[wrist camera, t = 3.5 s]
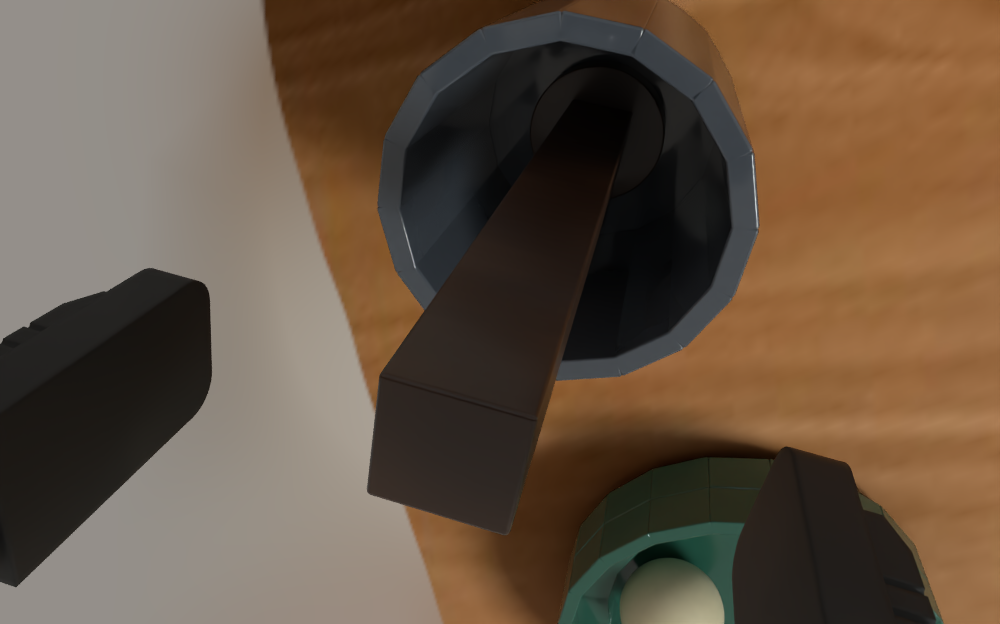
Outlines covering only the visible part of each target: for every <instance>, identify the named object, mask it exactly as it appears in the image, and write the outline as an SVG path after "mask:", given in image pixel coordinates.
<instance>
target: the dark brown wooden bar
mask: <svg viewBox="0 0 1000 624" xmlns="http://www.w3.org/2000/svg"><path fill="white" fill-rule="evenodd" d="M665 126H666V125H665V114H664V108H663V105H662V102H661V100H660V98H659V96H658V94H657V92H656V90H655V89H654V87H653V86H652V84H651V83H650V82H649V81H648V80H647V79H646V78H645V77H644V76H643V75H641V74H640V73H639V72H637V71H636V70H634V69H633V68H631V67H629V66H626V65H624V64H621V63H618V62H613V61H607V60H597V61H589V62H585V63H581V64H579V65H576V66H574V67H572V68H570V69H568V70H566V71H565V72H563V73H562V74H561V75H560V76H558V77H557V78H556V79H555V80H554V81H553V82H552V83H551V84H550V86H549V87H548V88H547V89H546V90H545V91H544V93H543V94H542V95H541V97H540V99H539V100H538V102H537V104H536V106H535V109H534V111H533V115H532V119H531V125H530V142H531V148H532V151H533V155H534V156H533V157H532V159H531V160H530V161H529V163H528V164H527V166H526V167H525V169H524V170H523V171H522V173H521V174H520V176H519V177H518V179H517V180H516V181H515V183H514V184H513V186H512V187H511V189H510V190H509V191H508V193H507V194H506V196H505V197H504V198H503V200H502V201H501V203H500V204H499V206H498V207H497V208H496V210H495V211H494V213H493V214H492V216H491V217H490V218H489V220H488V221H487V223H486V224H485V226H484V227H483V228H482V230H481V231H480V233H479V234H478V236H477V237H476V238H475V240H474V241H473V243H472V244H471V245H470V247H469V248H468V250H467V251H466V253H465V254H464V255H463V257H462V258H461V260H460V261H459V263H458V264H457V265H456V267H455V268H454V270H453V271H452V273H451V274H450V275H449V277H448V278H447V280H446V281H445V283H444V284H443V285H442V287H441V288H440V290H439V291H438V293H437V294H436V295H435V297H434V298H433V300H432V301H431V302H430V304H429V305H428V307H427V308H426V310H425V311H424V312H423V314H422V315H421V317H420V318H419V320H418V321H417V322H416V324H415V325H414V327H413V328H412V330H411V331H410V332H409V334H408V335H407V337H406V338H405V340H404V341H403V342H402V344H401V345H400V347H399V348H398V349H397V351H396V352H395V354H394V355H393V357H392V358H391V359H390V361H389V362H388V364H387V365H386V367H385V368H384V369H383V371H382V372H381V374H380V376H379V385H378V394H377V403H376V413H375V422H374V431H373V440H372V449H371V458H370V467H369V477H368V485H367V492H368V493H369V494H370V495H373V496H377V497H380V498H383V499H386V500H390V501H393V502H397V503H400V504H403V505H406V506H409V507H413V508H416V509H419V510H423V511H426V512H429V513H432V514H436V515H439V516H442V517H446V518H449V519H452V520H455V521H459V522H462V523H465V524H469V525H472V526H475V527H478V528H482V529H485V530H488V531H492V532H495V533H498V534H502V535H508V534H509V532H510V531H511V528H512V524H513V521H514V518H515V514H516V511H517V508H518V504H519V501H520V498H521V494H522V491H523V488H524V484H525V481H526V478H527V474H528V471H529V468H530V464H531V461H532V458H533V454H534V451H535V448H536V444H537V441H538V438H539V434H540V431H541V427H542V424H543V421H544V417H545V414H546V411H547V407H548V404H549V401H550V397H551V394H552V391H553V387H554V384H555V381H556V377H557V374H558V371H559V367H560V364H561V361H562V357H563V354H564V351H565V347H566V344H567V341H568V337H569V334H570V331H571V327H572V324H573V320H574V317H575V314H576V310H577V307H578V304H579V300H580V297H581V294H582V290H583V287H584V284H585V280H586V277H587V274H588V270H589V267H590V264H591V260H592V257H593V254H594V250H595V247H596V244H597V240H598V237H599V234H600V230H601V227H602V223H603V220H604V217H605V213H606V210H607V207H608V203H609V200H610V199H611V198H615V197H618V196H621V195H623V194H626V193H628V192H630V191H631V190H633V189H634V188H636V187H637V186H639V185H640V184H641V183H642V182H643V181H644V180H645V179H646V178H647V177H648V176H649V175H650V174H651V172H652V171H653V169H654V168H655V166H656V164H657V162H658V160H659V158H660V155H661V152H662V149H663V144H664V137H665Z"/></svg>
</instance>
